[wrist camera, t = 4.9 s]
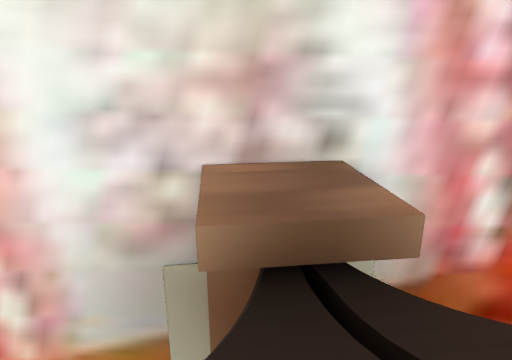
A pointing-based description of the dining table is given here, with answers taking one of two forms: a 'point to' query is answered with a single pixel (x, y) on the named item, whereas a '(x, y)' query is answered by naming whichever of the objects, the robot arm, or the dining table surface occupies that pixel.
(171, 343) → the mat
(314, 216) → the brown t-shaped bar
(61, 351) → the dining table surface
